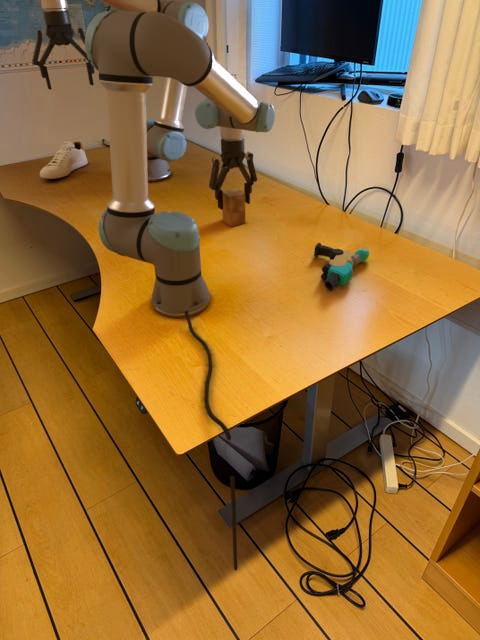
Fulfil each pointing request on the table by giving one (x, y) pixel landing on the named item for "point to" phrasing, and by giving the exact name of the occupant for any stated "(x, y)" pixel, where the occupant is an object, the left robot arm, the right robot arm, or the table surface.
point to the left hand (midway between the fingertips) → (71, 86)
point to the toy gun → (339, 264)
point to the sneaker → (65, 161)
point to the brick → (233, 207)
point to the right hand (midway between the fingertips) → (233, 205)
